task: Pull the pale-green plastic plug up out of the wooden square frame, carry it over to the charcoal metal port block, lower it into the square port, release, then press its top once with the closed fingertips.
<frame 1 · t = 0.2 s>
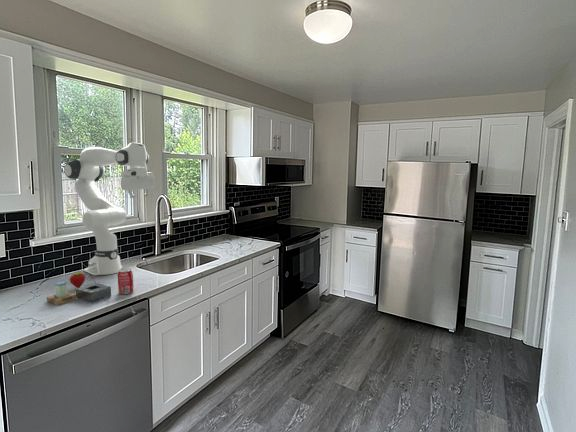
hand: (139, 197, 184), 48 cm above the counter, fingers open, 8 cm apart
plug: (61, 291, 159), in the wooden square frame
soda can: (126, 292, 172), on the counter
strawberry: (78, 288, 176), on the counter
wooden square frame: (62, 300, 159), on the counter
port block: (93, 297, 164), on the counter
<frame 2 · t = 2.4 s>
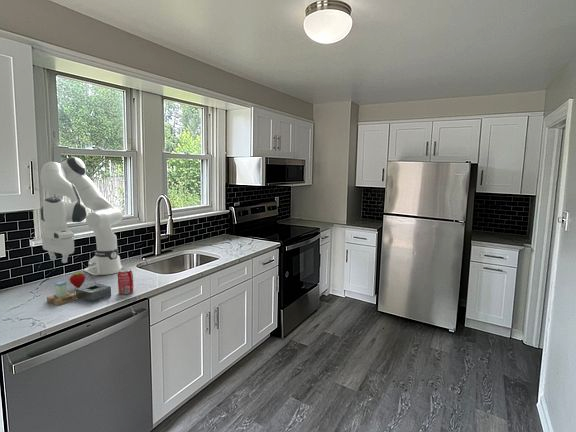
hand: (58, 261, 157), 20 cm above the counter, fingers open, 8 cm apart
nothing on the counter moved.
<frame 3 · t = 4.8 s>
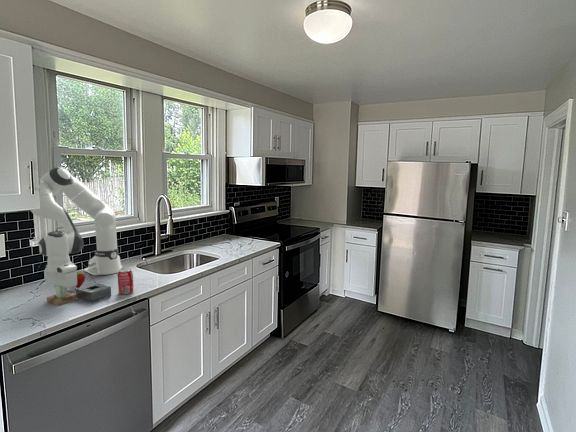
hand: (61, 293, 159), 4 cm above the counter, fingers closed on plug, 3 cm apart
plug: (61, 291, 159), in the wooden square frame, touching gripper
everything else where it was.
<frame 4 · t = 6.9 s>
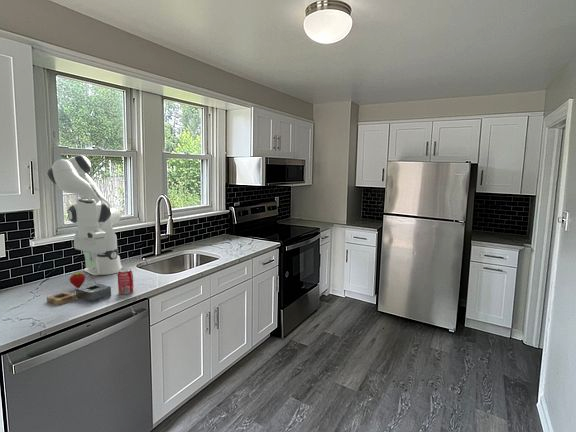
hand: (90, 260, 162), 19 cm above the counter, fingers closed on plug, 3 cm apart
plug: (90, 258, 161), point 20 cm above the counter, touching gripper
everything else where it was.
when the fingers open (6 cm above the counter, at t = 9.1 s): plug drops 3 cm, resting in port block.
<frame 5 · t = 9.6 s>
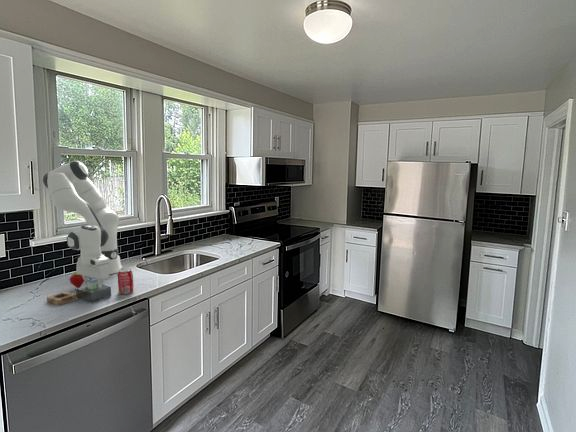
hand: (93, 285, 163), 6 cm above the counter, fingers open, 8 cm apart
plug: (93, 288, 164), in the port block
everything else where it was.
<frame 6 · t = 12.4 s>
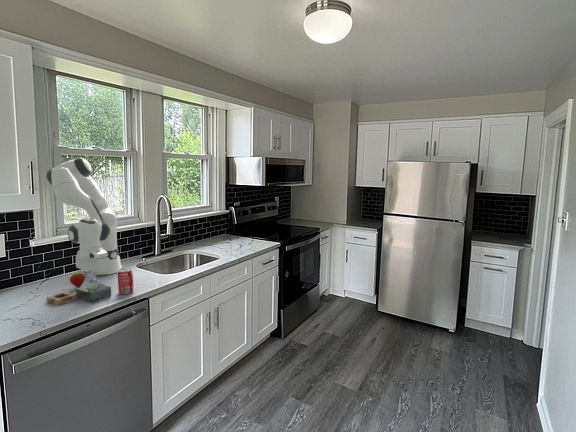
hand: (92, 279, 163), 9 cm above the counter, fingers closed
nothing on the counter moved.
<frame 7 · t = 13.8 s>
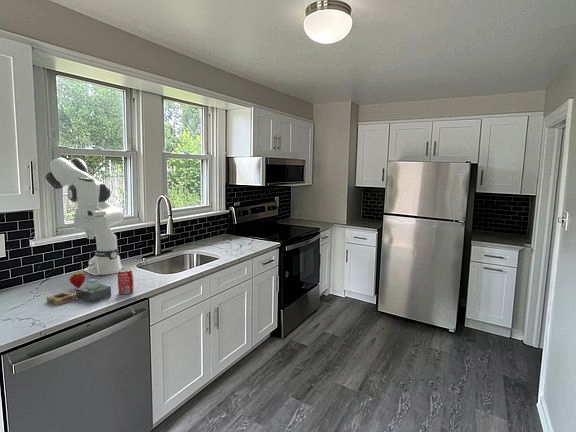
hand: (90, 238, 163), 29 cm above the counter, fingers closed
nothing on the counter moved.
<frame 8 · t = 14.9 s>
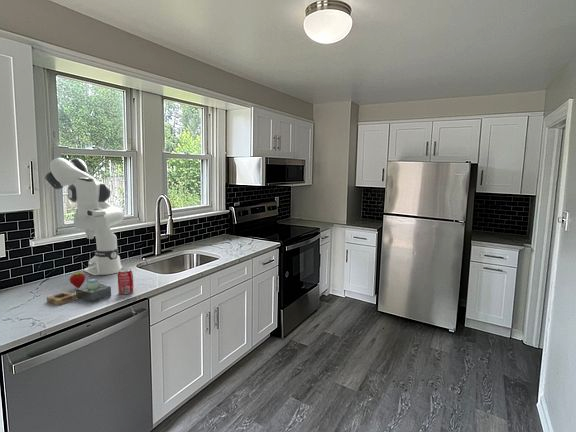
hand: (90, 238, 163), 29 cm above the counter, fingers closed
nothing on the counter moved.
at the end: plug 0.1 cm off-centre on the port block, point 4.5 cm above the port block's base; plug tilted 0°; the gripper is holding nothing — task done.
